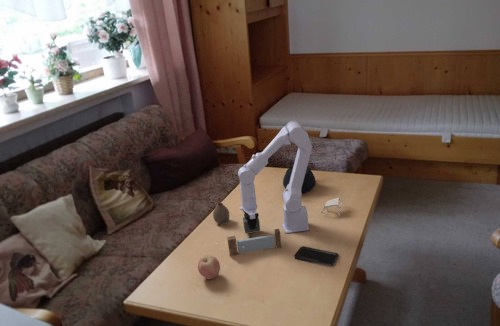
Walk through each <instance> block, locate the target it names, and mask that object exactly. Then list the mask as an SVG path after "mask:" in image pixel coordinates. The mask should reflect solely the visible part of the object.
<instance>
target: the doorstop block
mask: <svg viewBox="0 0 500 326" xmlns="http://www.w3.org/2000/svg"><path fill="white" fill-rule="evenodd" d="M259 218H260V217H258V218H257V221H256V228H255V229H253V230H250V228H249V225H248V222H247V220H246V219H245V217H242V221H243V222H242V223H243V229H244V233H245V234H249V233H255V232H256V233H257V232H261V224H260V219H259Z"/></svg>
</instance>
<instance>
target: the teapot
mask: <svg viewBox="0 0 500 326" xmlns="http://www.w3.org/2000/svg"><path fill="white" fill-rule="evenodd" d="M293 167H294V166H292V167H289V168H288V169H287V170H286V172H285V173H284V176H283V179H282V185H283V187H284V190H286V188H287V185H288V184H289V182H290V178H291V174H292V171H293ZM315 186H316V177H315V174H314V173H313V171H312V169H311V168H310V167H308V166H307V169H306V173H305V177H304V180H303V184H302V188H301V195H302V194H306V193H309V192H311V191H312V190H313V189H314V188H315Z"/></svg>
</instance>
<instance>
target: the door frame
mask: <svg viewBox="0 0 500 326" xmlns="http://www.w3.org/2000/svg"><path fill="white" fill-rule="evenodd" d="M281 237H282V236H281V231H280V228H275V229H274V243H275V248H276V249H282V239H281ZM226 238H227V246H228V252H229V253H228V254H229V257H234V256H238V255H239V253H238V246H237V238H236V235H232V236H227V237H226Z"/></svg>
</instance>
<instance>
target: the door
mask: <svg viewBox="0 0 500 326" xmlns="http://www.w3.org/2000/svg"><path fill="white" fill-rule="evenodd" d="M236 244H237V252H238V254H244V253H250V252H256V251H262V250H268V249H273V248H276V242H275V234H269V235H263V236H256V237H251V238H244V239H238V240H237V239H236Z"/></svg>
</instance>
